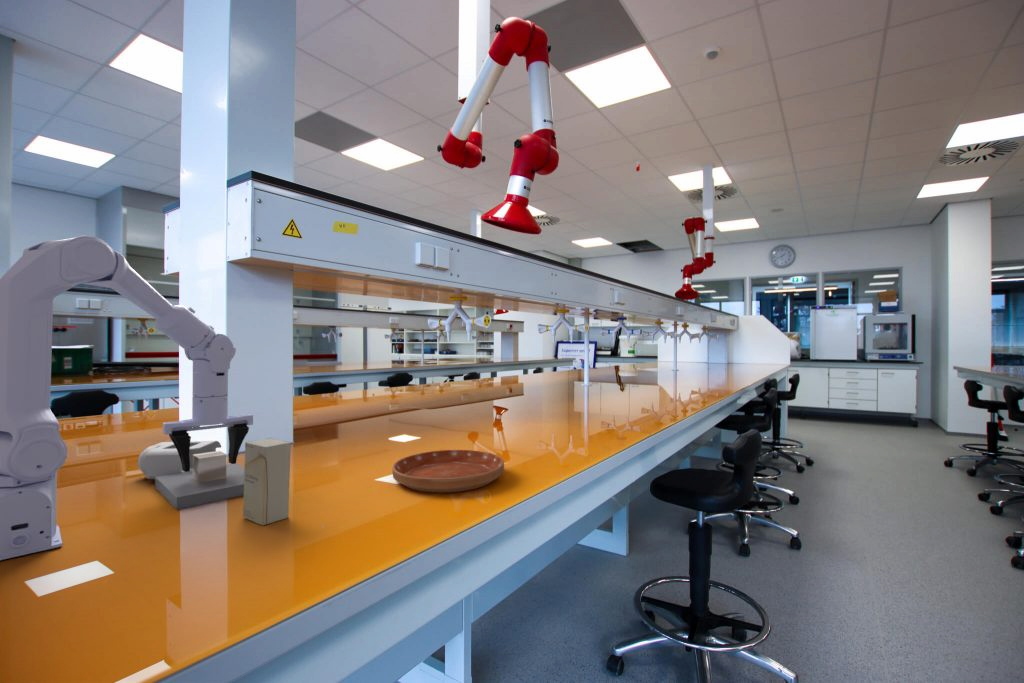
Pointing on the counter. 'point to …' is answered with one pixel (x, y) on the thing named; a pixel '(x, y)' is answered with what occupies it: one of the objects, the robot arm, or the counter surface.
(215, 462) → the ash cube
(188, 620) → the counter surface
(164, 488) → the base plate
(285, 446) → the skincare box
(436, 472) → the saucer
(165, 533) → the counter surface
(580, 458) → the counter surface
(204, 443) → the cable organizer
